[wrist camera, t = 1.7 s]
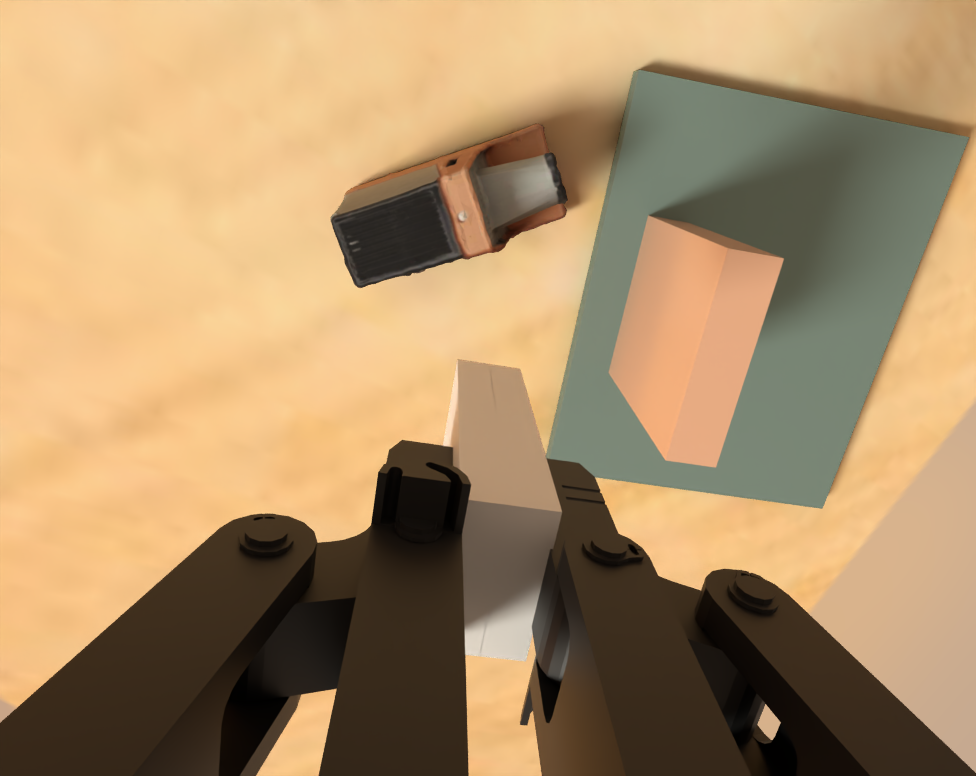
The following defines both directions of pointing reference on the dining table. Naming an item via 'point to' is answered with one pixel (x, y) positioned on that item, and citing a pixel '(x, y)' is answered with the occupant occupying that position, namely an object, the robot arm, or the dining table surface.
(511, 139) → the electronic device
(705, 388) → the tile
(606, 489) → the dining table surface
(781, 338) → the mat
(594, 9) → the dining table surface
